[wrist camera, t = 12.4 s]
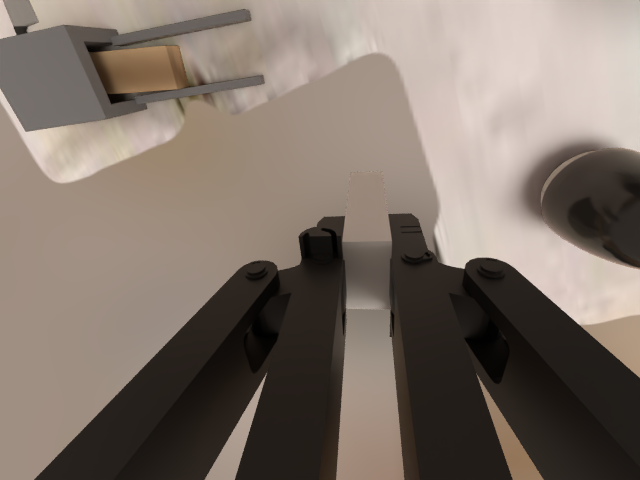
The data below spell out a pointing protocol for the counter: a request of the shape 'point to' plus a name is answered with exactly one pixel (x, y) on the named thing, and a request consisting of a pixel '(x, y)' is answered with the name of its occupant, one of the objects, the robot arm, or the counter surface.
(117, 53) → the oak board
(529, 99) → the counter surface
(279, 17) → the counter surface
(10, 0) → the chef's knife
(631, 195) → the pump dispenser
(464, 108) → the counter surface
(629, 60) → the counter surface
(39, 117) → the grey u-channel bracket
